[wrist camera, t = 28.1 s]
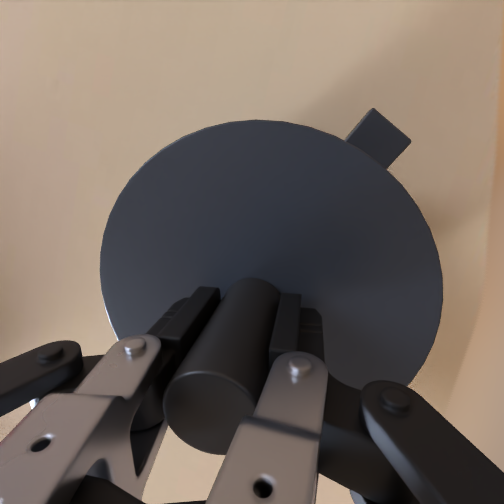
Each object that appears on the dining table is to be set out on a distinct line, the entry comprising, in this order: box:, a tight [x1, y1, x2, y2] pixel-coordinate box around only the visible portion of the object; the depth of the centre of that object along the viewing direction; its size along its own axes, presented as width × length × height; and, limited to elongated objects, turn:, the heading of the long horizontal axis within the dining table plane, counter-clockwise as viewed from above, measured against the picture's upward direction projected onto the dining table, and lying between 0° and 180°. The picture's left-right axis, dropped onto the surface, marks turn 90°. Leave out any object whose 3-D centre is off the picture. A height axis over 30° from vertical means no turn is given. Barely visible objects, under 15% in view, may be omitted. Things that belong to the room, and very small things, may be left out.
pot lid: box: [100, 120, 443, 455], centre depth 10 cm, size 14×14×7 cm
